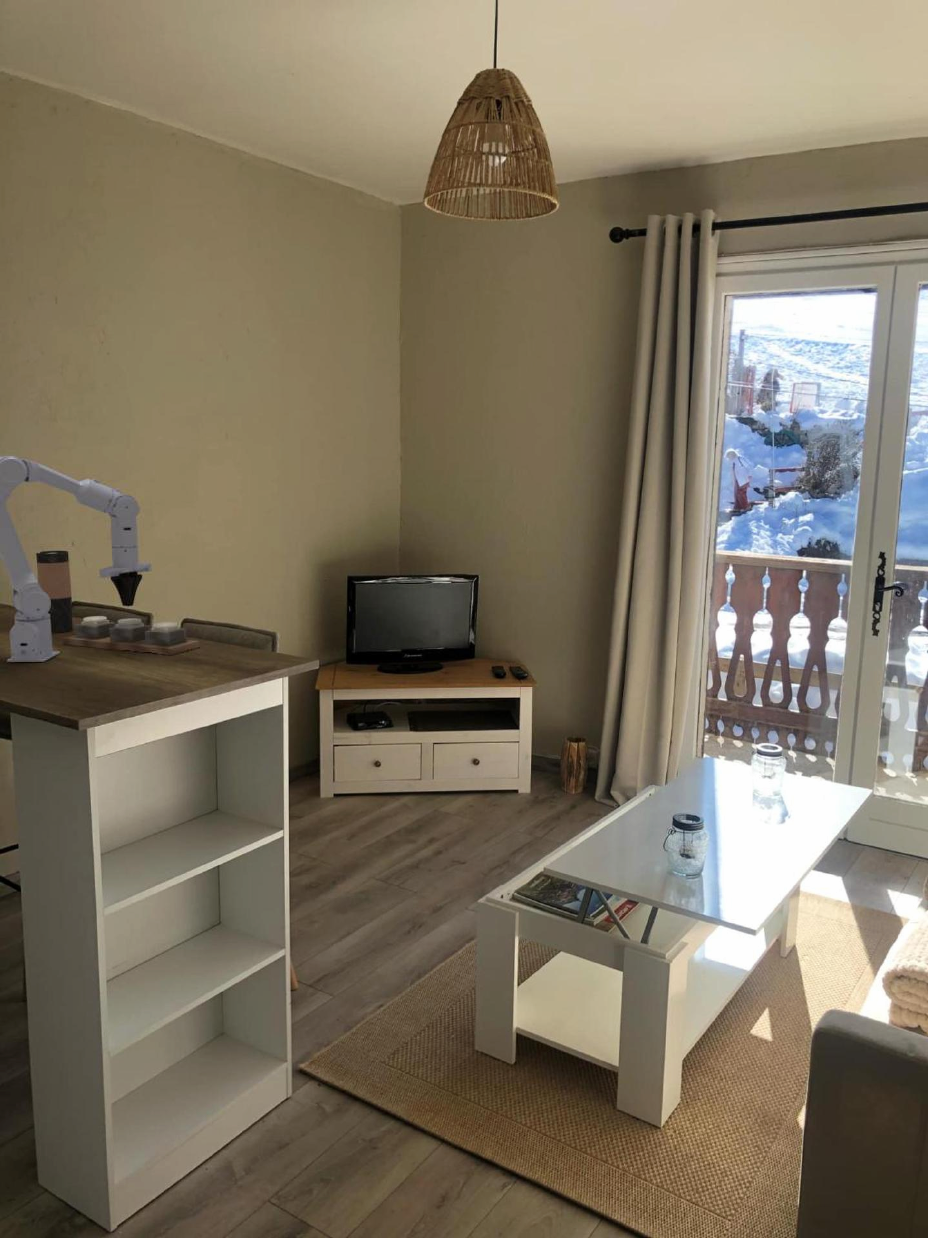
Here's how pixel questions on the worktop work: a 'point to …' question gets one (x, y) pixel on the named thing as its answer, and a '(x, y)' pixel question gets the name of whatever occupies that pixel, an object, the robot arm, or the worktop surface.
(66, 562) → the travel mug
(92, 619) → the knob
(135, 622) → the knob
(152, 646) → the knob backing plate
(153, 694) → the worktop surface
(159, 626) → the knob
